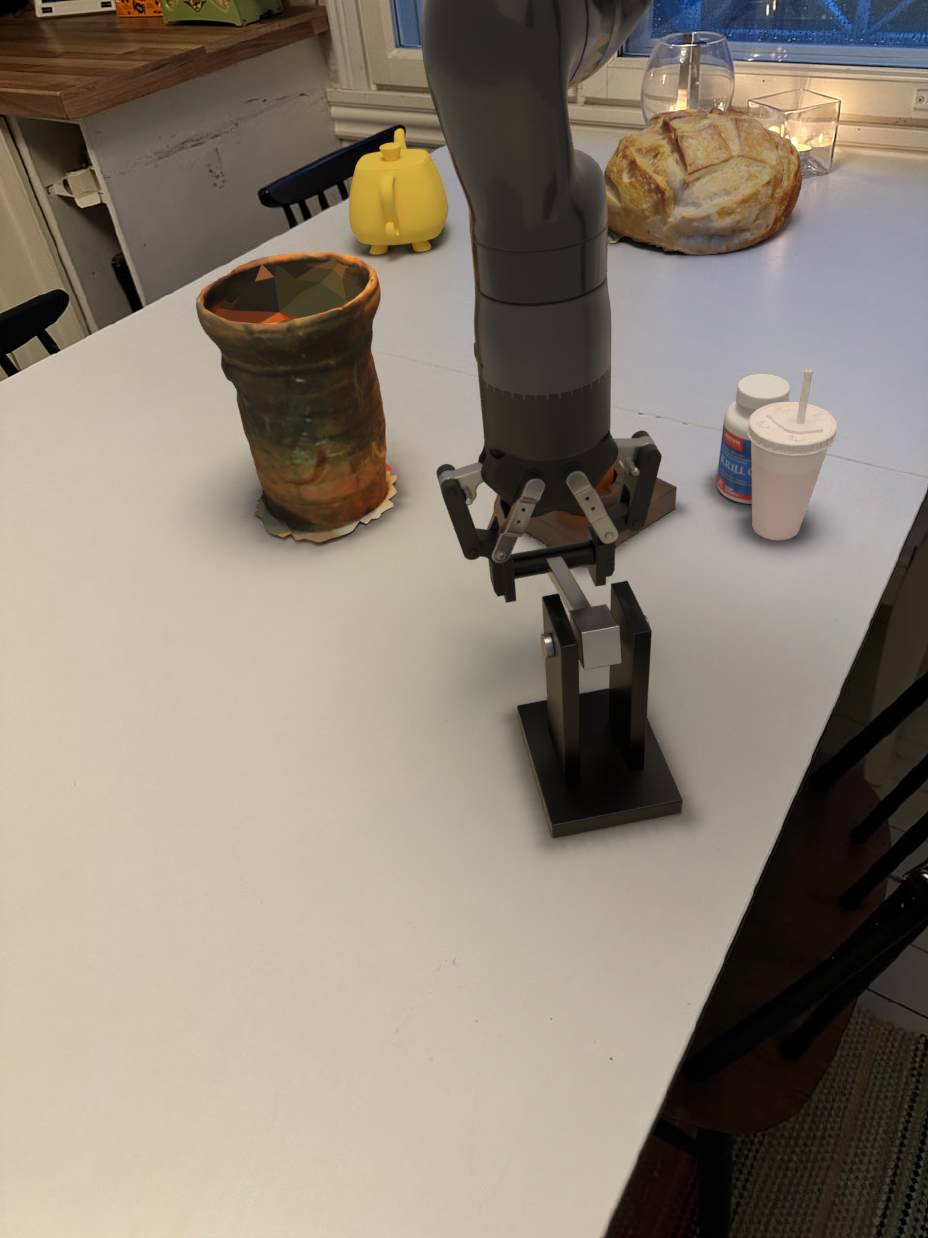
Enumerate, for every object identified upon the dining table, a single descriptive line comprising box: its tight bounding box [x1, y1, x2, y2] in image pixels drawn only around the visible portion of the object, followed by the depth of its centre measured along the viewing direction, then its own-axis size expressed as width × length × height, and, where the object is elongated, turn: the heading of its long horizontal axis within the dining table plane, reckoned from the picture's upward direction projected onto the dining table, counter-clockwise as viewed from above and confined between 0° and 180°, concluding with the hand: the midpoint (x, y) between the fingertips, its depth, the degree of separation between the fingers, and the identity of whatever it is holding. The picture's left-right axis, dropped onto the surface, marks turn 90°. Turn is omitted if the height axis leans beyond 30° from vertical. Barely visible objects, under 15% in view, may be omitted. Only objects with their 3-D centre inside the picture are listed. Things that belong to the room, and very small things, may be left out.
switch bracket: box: [516, 580, 684, 838], centre depth 55 cm, size 10×8×13 cm
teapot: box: [348, 128, 449, 256], centre depth 129 cm, size 14×20×13 cm
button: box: [595, 464, 614, 490], centre depth 76 cm, size 4×4×2 cm
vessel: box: [195, 252, 398, 543], centre depth 78 cm, size 14×14×20 cm
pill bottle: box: [716, 373, 791, 505], centre depth 77 cm, size 6×5×10 cm
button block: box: [524, 459, 678, 547], centre depth 78 cm, size 11×9×4 cm
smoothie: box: [747, 368, 838, 541], centre depth 71 cm, size 6×6×14 cm
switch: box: [511, 540, 622, 671], centre depth 56 cm, size 13×6×2 cm, turn 10°
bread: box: [603, 105, 803, 256], centre depth 122 cm, size 25×27×15 cm
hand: (553, 585), depth 63 cm, fingers closed on switch, 5 cm apart
